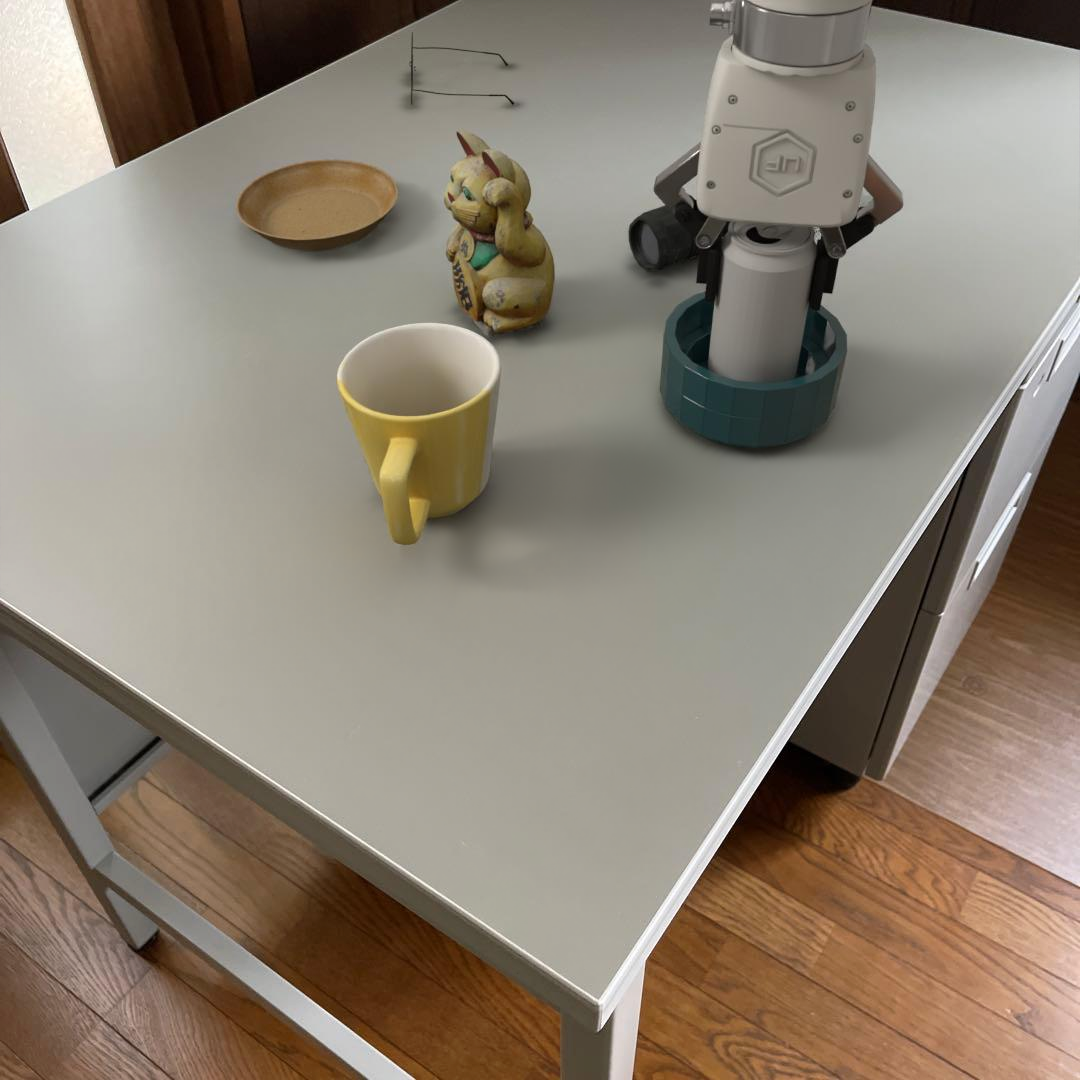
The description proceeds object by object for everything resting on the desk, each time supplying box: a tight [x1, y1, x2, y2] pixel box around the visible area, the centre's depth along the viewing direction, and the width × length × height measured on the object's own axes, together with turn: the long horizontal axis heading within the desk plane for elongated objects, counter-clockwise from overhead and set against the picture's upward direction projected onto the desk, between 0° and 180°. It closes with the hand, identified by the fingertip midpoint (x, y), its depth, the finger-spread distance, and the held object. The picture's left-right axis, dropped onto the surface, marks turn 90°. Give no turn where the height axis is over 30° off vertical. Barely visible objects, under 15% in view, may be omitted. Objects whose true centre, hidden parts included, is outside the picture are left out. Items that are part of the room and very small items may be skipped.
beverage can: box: [708, 221, 818, 383], centre depth 77 cm, size 6×6×12 cm
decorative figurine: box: [443, 130, 556, 338], centre depth 86 cm, size 10×8×15 cm
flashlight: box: [627, 199, 731, 272], centre depth 98 cm, size 5×21×5 cm, turn 122°
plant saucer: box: [235, 158, 399, 252], centre depth 102 cm, size 15×15×3 cm
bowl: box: [659, 291, 848, 449], centre depth 81 cm, size 13×13×6 cm
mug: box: [336, 322, 502, 546], centre depth 71 cm, size 14×10×10 cm
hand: (762, 293), depth 76 cm, fingers closed on beverage can, 6 cm apart
